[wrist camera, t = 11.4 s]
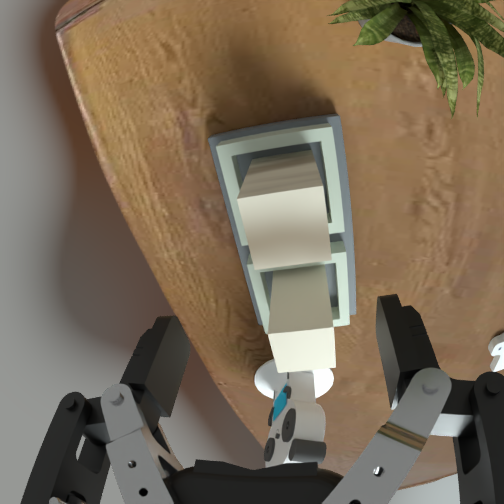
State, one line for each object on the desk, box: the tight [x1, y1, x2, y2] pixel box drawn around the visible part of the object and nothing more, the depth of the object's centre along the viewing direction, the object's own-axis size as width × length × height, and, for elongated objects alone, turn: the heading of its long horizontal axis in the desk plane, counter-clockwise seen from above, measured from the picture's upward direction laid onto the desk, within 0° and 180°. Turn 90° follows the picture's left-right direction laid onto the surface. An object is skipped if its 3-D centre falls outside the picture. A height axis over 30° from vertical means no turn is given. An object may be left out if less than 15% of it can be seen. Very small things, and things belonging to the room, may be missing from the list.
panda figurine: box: [255, 359, 334, 468], centre depth 37 cm, size 12×11×15 cm
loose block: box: [237, 150, 332, 270], centre depth 23 cm, size 5×5×9 cm
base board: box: [208, 114, 356, 373], centre depth 26 cm, size 21×11×10 cm, turn 12°
